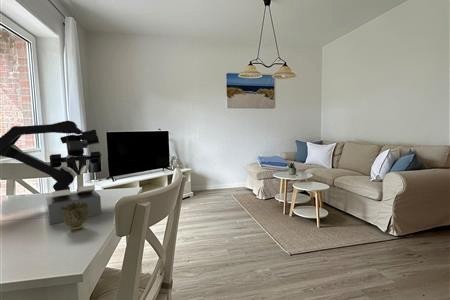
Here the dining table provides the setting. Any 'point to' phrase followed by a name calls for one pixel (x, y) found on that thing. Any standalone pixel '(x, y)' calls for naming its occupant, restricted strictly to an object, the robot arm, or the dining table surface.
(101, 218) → the dining table surface
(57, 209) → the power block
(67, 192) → the block
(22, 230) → the dining table surface
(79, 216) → the cup
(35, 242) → the dining table surface
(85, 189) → the block
